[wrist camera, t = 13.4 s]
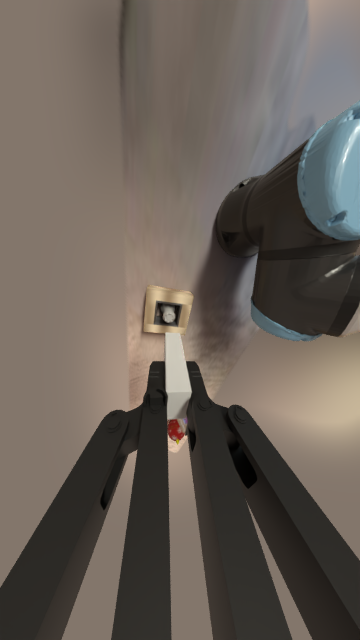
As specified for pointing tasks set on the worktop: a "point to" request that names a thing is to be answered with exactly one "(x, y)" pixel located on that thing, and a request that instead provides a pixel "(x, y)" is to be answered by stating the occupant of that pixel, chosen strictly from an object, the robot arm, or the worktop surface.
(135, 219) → the worktop surface
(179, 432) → the christmas ornament
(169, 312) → the rook chess piece
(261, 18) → the worktop surface
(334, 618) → the robot arm
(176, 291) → the socket block
